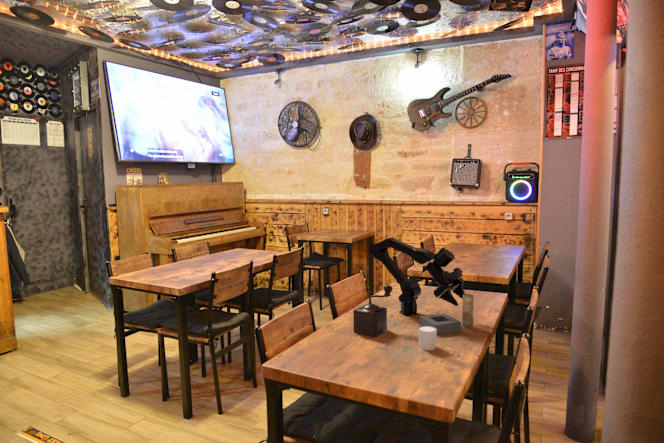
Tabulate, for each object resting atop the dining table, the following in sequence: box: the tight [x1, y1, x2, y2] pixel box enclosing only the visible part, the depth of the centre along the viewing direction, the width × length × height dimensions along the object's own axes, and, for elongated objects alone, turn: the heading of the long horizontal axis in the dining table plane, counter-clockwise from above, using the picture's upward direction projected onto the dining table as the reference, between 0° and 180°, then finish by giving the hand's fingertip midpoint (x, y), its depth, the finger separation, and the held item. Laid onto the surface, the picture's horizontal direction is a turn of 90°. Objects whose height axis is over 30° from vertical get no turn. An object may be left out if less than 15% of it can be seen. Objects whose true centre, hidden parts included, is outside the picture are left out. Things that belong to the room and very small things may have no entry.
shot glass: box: [417, 326, 437, 351], centre depth 154 cm, size 7×7×7 cm
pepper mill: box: [352, 284, 393, 338], centre depth 174 cm, size 16×11×18 cm
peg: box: [461, 293, 475, 329], centre depth 175 cm, size 4×4×14 cm
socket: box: [419, 312, 462, 336], centre depth 174 cm, size 12×12×4 cm
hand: (462, 303), depth 177 cm, fingers open, 9 cm apart
